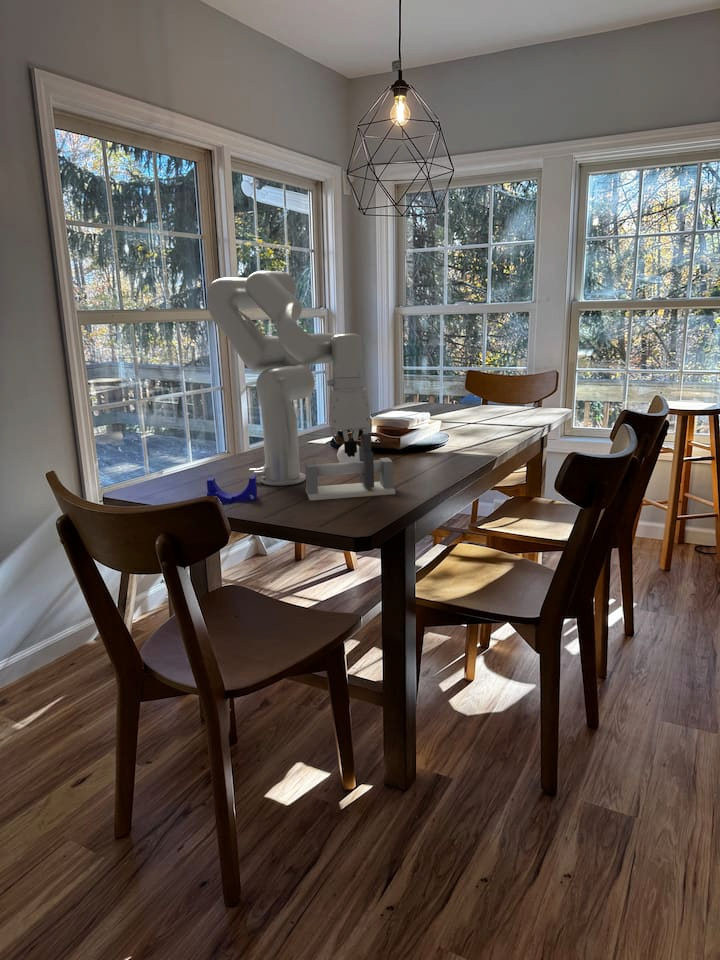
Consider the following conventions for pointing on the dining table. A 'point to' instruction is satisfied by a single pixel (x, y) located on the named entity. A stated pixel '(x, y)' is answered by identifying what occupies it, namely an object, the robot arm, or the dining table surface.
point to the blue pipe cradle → (229, 498)
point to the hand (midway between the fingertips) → (350, 455)
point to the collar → (366, 461)
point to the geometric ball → (344, 458)
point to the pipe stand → (348, 489)
